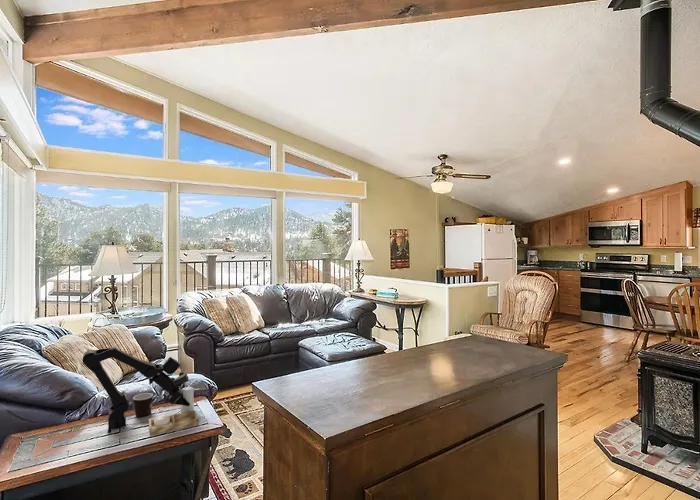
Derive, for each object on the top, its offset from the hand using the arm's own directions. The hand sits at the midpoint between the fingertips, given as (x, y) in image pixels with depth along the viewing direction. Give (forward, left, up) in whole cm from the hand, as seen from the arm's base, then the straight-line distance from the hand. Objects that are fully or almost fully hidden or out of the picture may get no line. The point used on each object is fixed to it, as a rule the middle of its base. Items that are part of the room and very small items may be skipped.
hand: (190, 401), depth 192 cm
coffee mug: (-19, +10, -7) cm, 23 cm away
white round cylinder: (-13, -10, -5) cm, 17 cm away
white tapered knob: (-1, 0, -7) cm, 7 cm away
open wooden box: (-8, -10, -7) cm, 14 cm away
